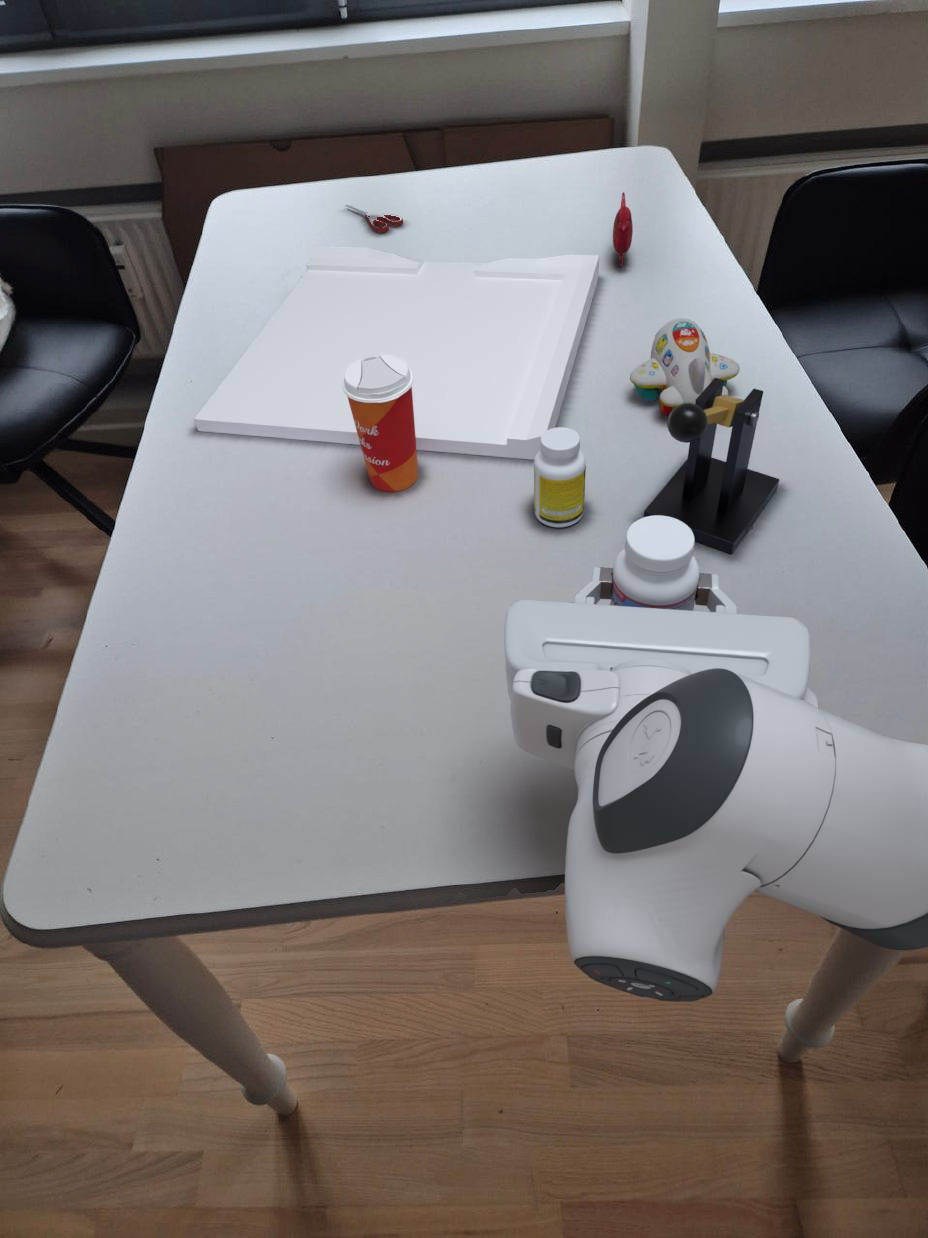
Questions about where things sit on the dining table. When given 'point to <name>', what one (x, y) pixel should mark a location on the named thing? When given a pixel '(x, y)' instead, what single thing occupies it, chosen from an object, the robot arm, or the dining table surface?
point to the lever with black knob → (701, 418)
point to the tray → (416, 349)
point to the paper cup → (384, 419)
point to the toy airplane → (680, 366)
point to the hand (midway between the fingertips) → (653, 576)
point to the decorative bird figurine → (622, 230)
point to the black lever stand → (718, 480)
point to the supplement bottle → (559, 478)
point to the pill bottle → (656, 566)
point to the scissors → (380, 220)
